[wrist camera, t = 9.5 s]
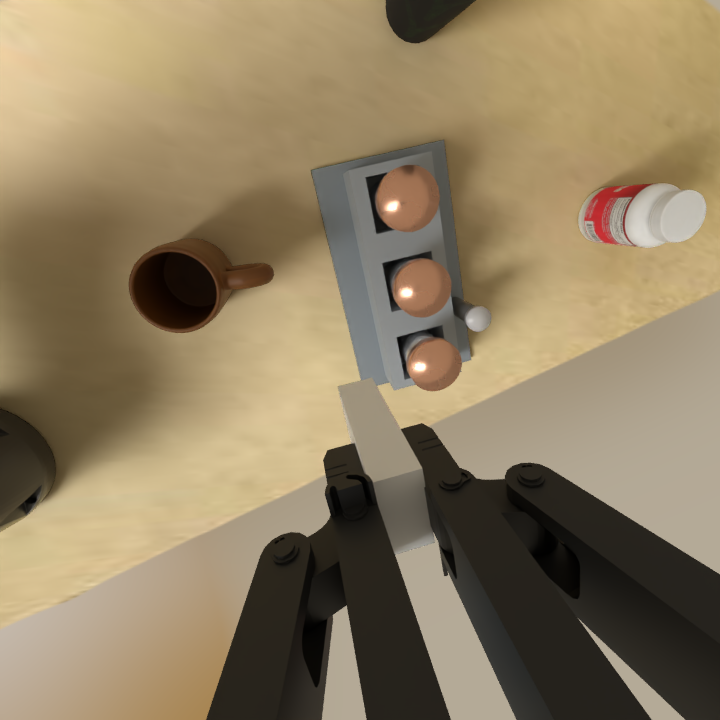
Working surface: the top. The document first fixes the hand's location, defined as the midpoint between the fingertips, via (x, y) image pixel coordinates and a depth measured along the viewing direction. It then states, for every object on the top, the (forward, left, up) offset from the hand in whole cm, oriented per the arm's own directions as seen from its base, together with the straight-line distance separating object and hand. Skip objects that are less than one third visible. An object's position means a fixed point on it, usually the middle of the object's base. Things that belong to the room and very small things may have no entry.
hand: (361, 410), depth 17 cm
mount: (+9, -1, -30) cm, 32 cm away
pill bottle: (+34, 0, -31) cm, 46 cm away
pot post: (+15, -6, -30) cm, 34 cm away
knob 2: (+10, -9, -30) cm, 32 cm away
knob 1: (+10, +7, -30) cm, 32 cm away
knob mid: (+9, -1, -30) cm, 31 cm away
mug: (-10, +4, -31) cm, 32 cm away
